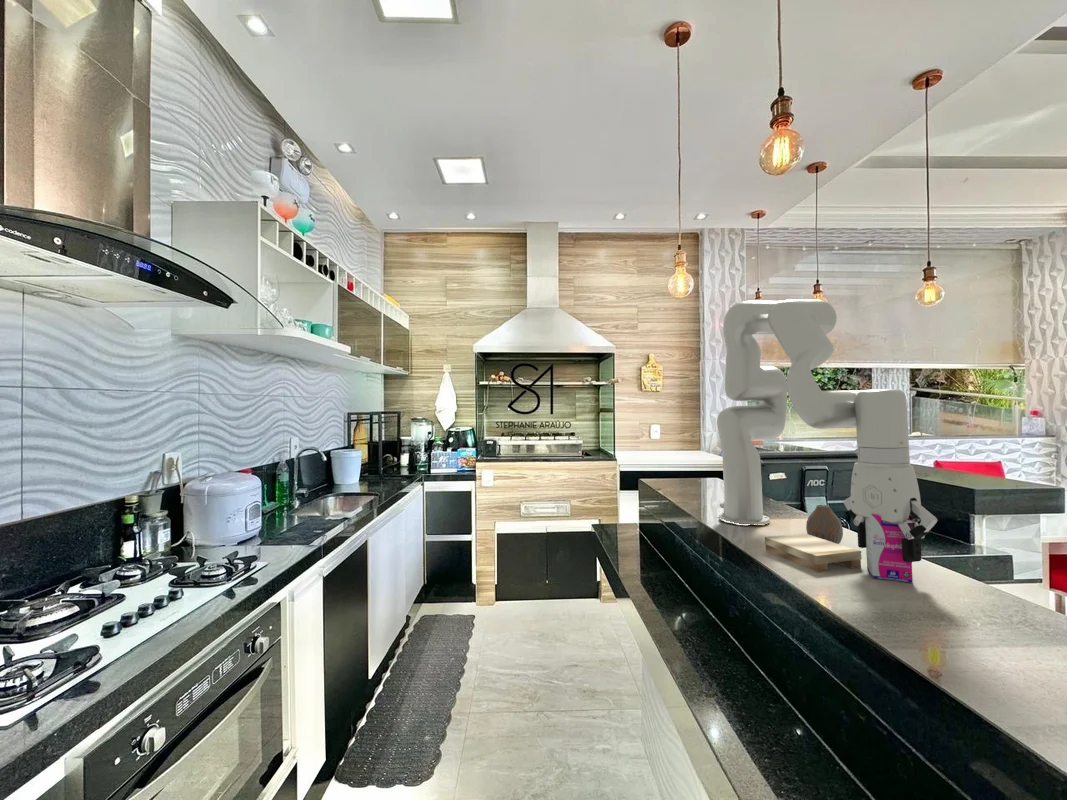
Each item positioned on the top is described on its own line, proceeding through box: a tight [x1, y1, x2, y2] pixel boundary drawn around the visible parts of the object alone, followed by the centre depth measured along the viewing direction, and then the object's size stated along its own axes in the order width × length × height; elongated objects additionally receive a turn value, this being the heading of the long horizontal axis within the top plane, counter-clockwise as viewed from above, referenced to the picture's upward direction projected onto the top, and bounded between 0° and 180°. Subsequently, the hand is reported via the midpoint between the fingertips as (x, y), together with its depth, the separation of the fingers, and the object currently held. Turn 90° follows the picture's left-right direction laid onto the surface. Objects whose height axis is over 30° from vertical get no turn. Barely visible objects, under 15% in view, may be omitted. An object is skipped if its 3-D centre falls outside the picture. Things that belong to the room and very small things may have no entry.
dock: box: [764, 532, 862, 573], centre depth 93 cm, size 14×10×3 cm
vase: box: [805, 504, 844, 544], centre depth 102 cm, size 7×7×9 cm
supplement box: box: [865, 513, 914, 584], centre depth 83 cm, size 6×6×12 cm
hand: (888, 553), depth 82 cm, fingers closed on supplement box, 8 cm apart
